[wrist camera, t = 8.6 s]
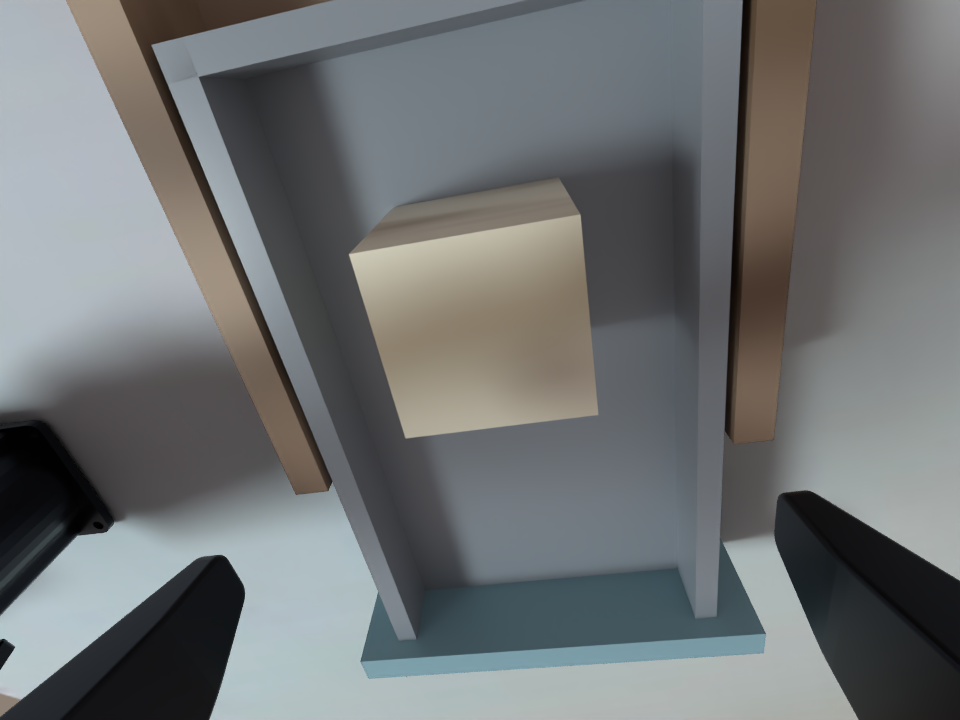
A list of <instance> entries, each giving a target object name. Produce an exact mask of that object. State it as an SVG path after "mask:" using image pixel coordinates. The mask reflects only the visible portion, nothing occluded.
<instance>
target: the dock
mask: <svg viewBox="0 0 960 720" xmlns="http://www.w3.org/2000/svg"><path fill="white" fill-rule="evenodd" d="M66 1H67V4H68V6H69V8H70V10H71V12H72V14H73V17H74V19H75V21H76V23H77V25H78V27H79V29H80V32H81V34H82V36H83V38H84V40H85V42H86V44H87V47H88V49H89V51H90V53H91V55H92V57H93V59H94V62H95V64H96V66H97V68H98V70H99V72H100V75H101V77H102V79H103V81H104V83H105V85H106V87H107V90H108V92H109V94H110V96H111V98H112V100H113V102H114V105H115V107H116V109H117V111H118V113H119V115H120V118H121V120H122V122H123V124H124V126H125V128H126V130H127V133H128V135H129V137H130V139H131V141H132V143H133V145H134V148H135V150H136V152H137V154H138V156H139V158H140V161H141V163H142V165H143V167H144V169H145V171H146V173H147V176H148V178H149V180H150V182H151V184H152V186H153V188H154V191H155V193H156V195H157V197H158V199H159V201H160V203H161V206H162V208H163V210H164V212H165V214H166V216H167V219H168V221H169V223H170V225H171V227H172V229H173V231H174V234H175V236H176V238H177V240H178V242H179V244H180V246H181V249H182V251H183V253H184V255H185V257H186V259H187V262H188V264H189V266H190V268H191V270H192V272H193V274H194V277H195V279H196V281H197V283H198V285H199V287H200V289H201V292H202V294H203V296H204V298H205V300H206V302H207V304H208V307H209V309H210V311H211V313H212V315H213V317H214V320H215V322H216V324H217V326H218V328H219V330H220V332H221V335H222V337H223V339H224V341H225V343H226V345H227V347H228V350H229V352H230V354H231V356H232V358H233V360H234V363H235V365H236V367H237V369H238V371H239V373H240V375H241V378H242V380H243V382H244V384H245V386H246V388H247V390H248V393H249V395H250V397H251V399H252V401H253V403H254V405H255V408H256V410H257V412H258V414H259V416H260V418H261V421H262V423H263V425H264V427H265V429H266V431H267V433H268V436H269V438H270V440H271V442H272V444H273V446H274V448H275V451H276V453H277V455H278V457H279V459H280V461H281V464H282V466H283V468H284V470H285V472H286V474H287V476H288V479H289V481H290V483H291V485H292V487H293V489H294V491H295V494H296V495H298V494H307V493H315V492H324V491H328V490H329V488H330V486H331V483H332V479H331V477H330V474H329V472H328V469H327V467H326V464H325V462H324V460H323V457H322V455H321V452H320V450H319V448H318V445H317V443H316V440H315V438H314V436H313V433H312V431H311V428H310V426H309V424H308V421H307V419H306V416H305V414H304V411H303V409H302V407H301V404H300V402H299V399H298V397H297V395H296V392H295V390H294V387H293V385H292V383H291V380H290V378H289V375H288V373H287V371H286V368H285V366H284V363H283V361H282V359H281V356H280V354H279V351H278V349H277V346H276V344H275V342H274V339H273V337H272V334H271V332H270V330H269V327H268V325H267V322H266V320H265V318H264V315H263V313H262V310H261V308H260V306H259V303H258V301H257V298H256V296H255V293H254V291H253V289H252V286H251V284H250V281H249V279H248V277H247V274H246V272H245V269H244V267H243V265H242V262H241V260H240V257H239V255H238V253H237V250H236V248H235V245H234V243H233V240H232V238H231V236H230V233H229V231H228V228H227V226H226V224H225V221H224V219H223V216H222V214H221V212H220V209H219V207H218V204H217V202H216V200H215V197H214V195H213V192H212V190H211V188H210V185H209V183H208V180H207V178H206V175H205V173H204V171H203V168H202V166H201V163H200V161H199V159H198V156H197V154H196V151H195V149H194V147H193V144H192V142H191V139H190V137H189V135H188V132H187V130H186V127H185V125H184V122H183V120H182V118H181V115H180V113H179V110H178V108H177V106H176V103H175V101H174V98H173V96H172V94H171V91H170V89H169V86H168V84H167V82H166V79H165V77H164V74H163V72H162V70H161V67H160V65H159V62H158V60H157V57H156V55H155V53H154V50H153V48H152V45H153V44H157V43H161V42H165V41H169V40H173V39H177V38H181V37H185V36H190V35H194V34H198V33H202V32H206V31H210V30H214V29H218V28H222V27H226V26H230V25H234V24H238V23H242V22H247V21H251V20H255V19H259V18H263V17H267V16H271V15H275V14H279V13H283V12H287V11H291V10H295V9H300V8H304V7H308V6H312V5H316V4H320V3H324V2H328V1H332V0H66ZM816 3H817V0H743V3H742V27H741V50H740V74H739V98H738V121H737V145H736V169H735V192H734V216H733V240H732V263H731V287H730V311H729V334H728V358H727V381H726V405H725V429H724V430H725V432H726V433H727V435H728V436H729V438H730V439H731V441H732V443H733V444H741V443H750V442H759V441H768V440H774V432H775V422H776V411H777V401H778V391H779V381H780V371H781V360H782V350H783V340H784V330H785V320H786V309H787V299H788V289H789V279H790V268H791V258H792V248H793V238H794V228H795V217H796V207H797V197H798V187H799V177H800V166H801V156H802V146H803V136H804V125H805V115H806V105H807V95H808V85H809V74H810V64H811V54H812V44H813V34H814V23H815V13H816Z"/></svg>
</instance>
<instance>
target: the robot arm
mask: <svg viewBox="0 0 960 720" xmlns="http://www.w3.org/2000/svg"><path fill="white" fill-rule="evenodd" d="M113 524H114V519H113V518H112V516H111V515H110V513H109V512H108V510H107V509H106V508H105V506H104V505H103V503H102V502H101V501H100V499H99V498H98V496H97V495H96V493H95V492H94V491H93V489H92V488H91V486H90V485H89V483H88V482H87V481H86V479H85V478H84V476H83V475H82V474H81V472H80V471H79V469H78V468H77V466H76V465H75V464H74V462H73V461H72V459H71V458H70V456H69V455H68V454H67V452H66V451H65V449H64V448H63V446H62V445H61V444H60V442H59V441H58V439H57V438H56V437H55V435H54V434H53V432H52V431H51V429H50V428H49V427H48V426H47V425H46V424H45V423H43V422H41V421H38V420H31V421H24V422H17V423H10V424H4V425H0V616H1V614H2V613H3V612H4V611H5V610H6V609H7V608H8V607H9V606H10V605H11V604H12V603H13V602H14V601H15V600H16V599H17V598H18V597H19V596H20V595H21V594H22V593H23V592H24V591H25V590H26V589H27V587H28V586H29V585H30V584H31V583H32V582H33V581H34V580H35V579H36V578H37V577H38V576H39V575H40V574H41V573H42V572H43V571H44V570H45V569H46V568H47V567H48V566H49V565H50V564H51V563H52V562H53V560H54V559H55V558H56V557H57V556H58V555H59V554H60V553H61V552H62V551H63V550H64V549H65V548H66V547H67V546H68V545H69V544H70V543H71V542H72V541H73V540H74V539H75V538H76V537H77V536H79V535H88V534H97V533H104V532H107V531H108V530H109V529H110V528H111V526H112V525H113ZM774 536H775V542H776V545H777V548H778V551H779V553H780V555H781V558H782V560H783V563H784V565H785V567H786V570H787V572H788V574H789V577H790V579H791V581H792V584H793V586H794V588H795V591H796V593H797V596H798V598H799V600H800V603H801V605H802V607H803V610H804V612H805V614H806V617H807V619H808V621H809V624H810V626H811V628H812V631H813V633H814V635H815V638H816V640H817V642H818V644H819V647H820V649H821V651H822V653H823V655H824V657H825V659H826V661H827V663H828V664H829V666H830V668H831V670H832V672H833V674H834V676H835V677H836V679H837V681H838V683H839V685H840V687H841V688H842V690H843V692H844V694H845V696H846V697H847V699H848V701H849V703H850V705H851V707H852V708H853V710H854V712H855V714H856V716H857V717H858V719H859V720H960V581H959V580H958V579H956V578H954V577H953V576H951V575H950V574H948V573H946V572H945V571H943V570H941V569H940V568H938V567H936V566H935V565H933V564H931V563H930V562H928V561H926V560H925V559H923V558H921V557H920V556H918V555H916V554H915V553H913V552H911V551H910V550H908V549H907V548H905V547H903V546H902V545H900V544H898V543H897V542H895V541H893V540H892V539H890V538H888V537H887V536H885V535H883V534H882V533H880V532H878V531H877V530H875V529H873V528H872V527H870V526H869V525H867V524H865V523H864V522H862V521H860V520H859V519H857V518H855V517H854V516H852V515H850V514H849V513H847V512H845V511H844V510H842V509H840V508H839V507H837V506H835V505H834V504H832V503H831V502H829V501H827V500H826V499H824V498H822V497H821V496H819V495H817V494H816V493H814V492H811V491H806V490H805V491H795V492H786V493H782V494H780V495H779V497H778V500H777V508H776V519H775V529H774ZM244 599H245V589H244V585H243V583H242V582H241V580H240V578H239V577H238V575H237V573H236V572H235V570H234V569H233V567H232V565H231V564H230V562H229V560H228V559H227V558H226V557H225V556H223V555H214V556H205V557H200V558H198V559H196V560H195V561H193V562H192V563H191V564H190V565H188V566H187V567H186V568H185V569H183V570H182V571H181V572H180V573H178V574H177V575H176V576H175V577H173V578H172V579H171V580H170V581H168V582H167V583H166V584H165V585H164V586H162V587H161V588H160V589H159V590H157V591H156V592H155V593H154V594H152V595H151V596H150V597H149V598H147V599H146V600H145V601H144V602H142V603H141V604H140V605H139V606H137V607H136V608H135V609H134V610H132V611H131V612H130V613H129V614H127V615H126V616H125V617H124V618H122V619H121V620H120V621H119V622H118V623H116V624H115V625H114V626H113V627H111V628H110V629H109V630H108V631H106V632H105V633H104V634H103V635H101V636H100V637H99V638H98V639H96V640H95V641H94V642H93V643H91V644H90V645H89V646H88V647H86V648H85V649H84V650H83V651H81V652H80V653H79V654H78V655H77V656H75V657H74V658H73V659H72V660H70V661H69V662H68V663H67V664H65V665H64V666H63V667H62V668H60V669H59V670H58V671H57V672H55V673H54V674H53V675H52V676H50V677H49V678H48V679H47V680H45V681H44V682H43V683H42V684H40V685H39V686H38V687H37V688H36V689H34V690H33V691H32V692H31V693H29V694H28V695H27V696H26V697H24V698H23V699H22V700H21V701H19V702H18V703H17V704H16V705H15V706H13V707H12V708H11V709H9V710H8V711H7V712H6V713H5V714H3V715H2V716H1V717H0V720H209V719H210V716H211V714H212V711H213V708H214V705H215V702H216V699H217V696H218V693H219V690H220V687H221V683H222V680H223V677H224V673H225V669H226V666H227V662H228V658H229V655H230V651H231V648H232V644H233V640H234V637H235V633H236V629H237V626H238V622H239V618H240V615H241V611H242V607H243V604H244ZM14 648H15V646H14V645H12V644H11V643H9V642H8V641H7V640H5V639H1V640H0V669H1V668H2V666H3V665H4V663H5V662H6V660H7V659H8V657H9V656H10V654H11V653H12V651H13V650H14Z"/></svg>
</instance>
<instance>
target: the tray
mask: <svg viewBox="0 0 960 720" xmlns="http://www.w3.org/2000/svg"><path fill="white" fill-rule="evenodd" d="M742 3H743V0H332V1H328V2H324V3H320V4H316V5H312V6H308V7H304V8H300V9H295V10H291V11H287V12H283V13H279V14H275V15H271V16H267V17H263V18H259V19H255V20H251V21H247V22H242V23H238V24H234V25H230V26H226V27H222V28H218V29H214V30H210V31H206V32H202V33H198V34H194V35H190V36H185V37H181V38H177V39H173V40H169V41H165V42H161V43H157V44H153V45H152V48H153V50H154V53H155V55H156V57H157V60H158V62H159V65H160V67H161V70H162V72H163V74H164V77H165V79H166V82H167V84H168V86H169V89H170V91H171V94H172V96H173V98H174V101H175V103H176V106H177V108H178V110H179V113H180V115H181V118H182V120H183V122H184V125H185V127H186V130H187V132H188V135H189V137H190V139H191V142H192V144H193V147H194V149H195V151H196V154H197V156H198V159H199V161H200V163H201V166H202V168H203V171H204V173H205V175H206V178H207V180H208V183H209V185H210V188H211V190H212V192H213V195H214V197H215V200H216V202H217V204H218V207H219V209H220V212H221V214H222V216H223V219H224V221H225V224H226V226H227V228H228V231H229V233H230V236H231V238H232V240H233V243H234V245H235V248H236V250H237V253H238V255H239V257H240V260H241V262H242V265H243V267H244V269H245V272H246V274H247V277H248V279H249V281H250V284H251V286H252V289H253V291H254V293H255V296H256V298H257V301H258V303H259V306H260V308H261V310H262V313H263V315H264V318H265V320H266V322H267V325H268V327H269V330H270V332H271V334H272V337H273V339H274V342H275V344H276V346H277V349H278V351H279V354H280V356H281V359H282V361H283V363H284V366H285V368H286V371H287V373H288V375H289V378H290V380H291V383H292V385H293V387H294V390H295V392H296V395H297V397H298V399H299V402H300V404H301V407H302V409H303V411H304V414H305V416H306V419H307V421H308V424H309V426H310V428H311V431H312V433H313V436H314V438H315V440H316V443H317V445H318V448H319V450H320V452H321V455H322V457H323V460H324V462H325V464H326V467H327V469H328V472H329V474H330V477H331V479H332V481H333V484H334V486H335V489H336V491H337V493H338V496H339V498H340V501H341V503H342V505H343V508H344V510H345V513H346V515H347V517H348V520H349V522H350V525H351V527H352V530H353V532H354V534H355V537H356V539H357V542H358V544H359V546H360V549H361V551H362V554H363V556H364V558H365V561H366V563H367V566H368V568H369V570H370V573H371V575H372V578H373V580H374V582H375V585H376V587H377V590H378V595H377V599H376V603H375V607H374V611H373V615H372V618H371V622H370V626H369V630H368V634H367V638H366V642H365V646H364V650H363V654H362V658H361V661H360V662H361V664H362V666H363V668H364V670H365V672H366V674H367V676H368V678H369V679H372V678H387V677H403V676H418V675H434V674H449V673H465V672H480V671H496V670H511V669H527V668H543V667H558V666H574V665H589V664H605V663H620V662H636V661H651V660H667V659H682V658H698V657H714V656H729V655H745V654H760V653H764V646H765V637H766V633H765V631H764V629H763V627H762V625H761V623H760V620H759V618H758V616H757V614H756V612H755V610H754V608H753V606H752V604H751V602H750V599H749V597H748V595H747V593H746V591H745V589H744V587H743V585H742V583H741V580H740V578H739V576H738V574H737V572H736V570H735V568H734V566H733V564H732V562H731V559H730V557H729V555H728V553H727V551H726V549H725V547H724V545H723V543H722V541H721V538H720V523H721V500H722V476H723V452H724V429H725V405H726V381H727V358H728V334H729V311H730V287H731V263H732V240H733V216H734V192H735V169H736V145H737V121H738V98H739V74H740V50H741V27H742ZM557 177H559V179H560V180H561V182H562V184H563V186H564V187H565V189H566V191H567V192H568V194H569V196H570V197H571V199H572V201H573V203H574V204H575V206H576V208H577V209H578V211H579V213H580V215H581V226H582V237H583V248H584V259H585V271H586V282H587V293H588V304H589V315H590V326H591V338H592V349H593V360H594V371H595V382H596V394H597V405H598V415H594V416H586V417H578V418H569V419H561V420H553V421H545V422H537V423H528V424H520V425H512V426H504V427H496V428H488V429H479V430H471V431H463V432H455V433H447V434H438V435H430V436H422V437H414V438H405V435H404V432H403V429H402V425H401V422H400V419H399V416H398V412H397V409H396V406H395V403H394V399H393V396H392V393H391V390H390V386H389V383H388V380H387V377H386V373H385V370H384V367H383V364H382V360H381V357H380V354H379V351H378V347H377V344H376V341H375V338H374V334H373V331H372V328H371V325H370V321H369V318H368V315H367V312H366V308H365V305H364V302H363V299H362V295H361V292H360V289H359V286H358V282H357V279H356V276H355V273H354V269H353V266H352V263H351V260H350V256H349V253H350V252H351V251H352V250H353V249H354V248H355V247H356V246H357V245H358V244H359V243H360V242H361V241H362V240H363V239H364V238H365V237H366V236H367V235H368V234H369V233H370V232H371V231H372V230H373V229H374V227H375V226H376V225H377V224H378V223H379V222H380V221H381V220H382V219H383V218H384V217H385V216H386V215H387V214H388V213H389V212H390V211H391V210H392V209H393V208H394V207H398V206H403V205H409V204H414V203H420V202H425V201H431V200H436V199H442V198H447V197H453V196H458V195H464V194H469V193H475V192H480V191H486V190H491V189H497V188H502V187H508V186H513V185H519V184H524V183H530V182H535V181H541V180H546V179H552V178H557Z"/></svg>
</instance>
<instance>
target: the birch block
mask: <svg viewBox="0 0 960 720" xmlns="http://www.w3.org/2000/svg"><path fill="white" fill-rule="evenodd" d="M349 256H350V260H351V263H352V266H353V269H354V273H355V276H356V279H357V282H358V286H359V289H360V292H361V295H362V299H363V302H364V305H365V308H366V312H367V315H368V318H369V321H370V325H371V328H372V331H373V334H374V338H375V341H376V344H377V347H378V351H379V354H380V357H381V360H382V364H383V367H384V370H385V373H386V377H387V380H388V383H389V386H390V390H391V393H392V396H393V399H394V403H395V406H396V409H397V412H398V416H399V419H400V422H401V425H402V429H403V432H404V435H405V438H414V437H422V436H430V435H438V434H447V433H455V432H463V431H471V430H479V429H488V428H496V427H504V426H512V425H520V424H528V423H537V422H545V421H553V420H561V419H569V418H578V417H586V416H594V415H598V405H597V394H596V382H595V371H594V360H593V349H592V338H591V326H590V315H589V304H588V293H587V282H586V271H585V259H584V248H583V237H582V226H581V215H580V213H579V211H578V209H577V208H576V206H575V204H574V203H573V201H572V199H571V197H570V196H569V194H568V192H567V191H566V189H565V187H564V186H563V184H562V182H561V180H560V179H559V177H557V178H552V179H546V180H541V181H535V182H530V183H524V184H519V185H513V186H508V187H502V188H497V189H491V190H486V191H480V192H475V193H469V194H464V195H458V196H453V197H447V198H442V199H436V200H431V201H425V202H420V203H414V204H409V205H403V206H398V207H394V208H393V209H392V210H391V211H390V212H389V213H388V214H387V215H386V216H385V217H384V218H383V219H382V220H381V221H380V222H379V223H378V224H377V225H376V226H375V227H374V229H373V230H372V231H371V232H370V233H369V234H368V235H367V236H366V237H365V238H364V239H363V240H362V241H361V242H360V243H359V244H358V245H357V246H356V247H355V248H354V249H353V250H352V251H351V252H350V253H349Z"/></svg>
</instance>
